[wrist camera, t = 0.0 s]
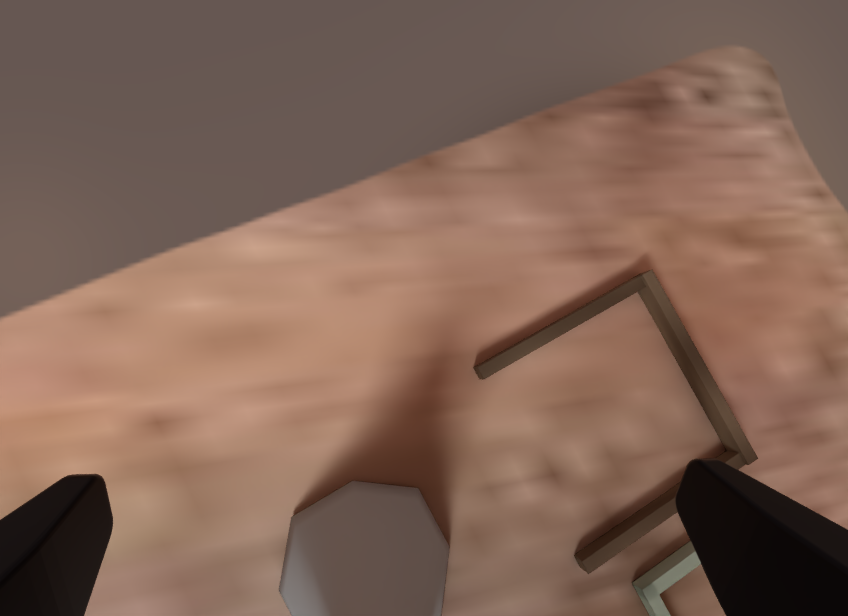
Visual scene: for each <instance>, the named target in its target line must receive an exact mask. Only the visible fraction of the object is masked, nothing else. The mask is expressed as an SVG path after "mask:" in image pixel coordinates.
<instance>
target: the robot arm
mask: <svg viewBox="0 0 848 616" xmlns="http://www.w3.org/2000/svg"><path fill="white" fill-rule="evenodd" d="M675 503H676V508H677V511H678V514H679V516H680V518H681V521H682V523H683V525H684V527H685V529H686V532H687V534H688V536H689V538H690V540H691V543H692V545H693V547H694V549H695V551H696V554H697V556H698V558H699V560H700V562H701V565H702V567H703V569H704V571H705V573H706V576H707V578H708V580H709V582H710V584H711V587H712V589H713V591H714V593H715V595H716V597H717V599H718V601H719V603H720V605H721V607H722V609H723V611H724V612H725V614H726V616H848V530H847V529H845V528H844V527H842V526H840V525H838V524H836V523H834V522H833V521H831V520H829V519H827V518H825V517H823V516H822V515H820V514H818V513H816V512H814V511H812V510H811V509H809V508H807V507H805V506H803V505H801V504H800V503H798V502H796V501H794V500H792V499H790V498H788V497H787V496H785V495H783V494H781V493H779V492H777V491H776V490H774V489H772V488H770V487H768V486H766V485H765V484H763V483H761V482H759V481H757V480H755V479H754V478H752V477H750V476H748V475H746V474H744V473H743V472H741V471H739V470H737V469H735V468H733V467H732V466H730V465H728V464H726V463H724V462H722V461H720V460H718V459H712V458H711V459H694V460H692V461H690V462H689V463H688V465H687V467H686V470H685V472H684V475H683V478H682V480H681V483H680V485H679V488H678V491H677V493H676V498H675ZM112 527H113V516H112V511H111V507H110V502H109V498H108V493H107V489H106V484H105V481H104V479H103V477H102V476H100V475H98V474H75V475H68V476H66V477H64V478H62V479H60V480H59V481H57V482H56V483H54V484H53V485H51V486H50V487H48V488H47V489H45V490H44V491H43V492H41V493H40V494H38V495H37V496H35V497H34V498H32V499H31V500H29V501H28V502H26V503H25V504H23V505H22V506H20V507H19V508H17V509H16V510H14V511H13V512H11V513H10V514H8V515H7V516H5V517H4V518H2V519H1V520H0V616H84V614H85V611H86V608H87V605H88V602H89V599H90V596H91V593H92V590H93V587H94V584H95V581H96V578H97V575H98V572H99V569H100V566H101V563H102V560H103V557H104V554H105V551H106V548H107V545H108V542H109V540H110V536H111V533H112Z"/></svg>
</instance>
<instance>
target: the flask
mask: <svg viewBox="0 0 848 616" xmlns="http://www.w3.org/2000/svg"><path fill="white" fill-rule="evenodd" d="M449 548H450V547H449V545H448V543H447V541H446V539H445V538H444V536H443V534H442V532H441V530H440V528H439V526H438V524H437V523H436V521H435V519H434V517H433V515H432V513H431V511H430V509H429V508H428V506H427V504H426V502H425V500H424V498H423V496H422V494H421V493H420V491H419V489H418V488H413V487H404V486H395V485H386V484H378V483H369V482H360V481H351V482H350V483H348V484H346V485H345V486H343V487H341V488H339V489H338V490H336V491H334V492H333V493H331V494H329V495H328V496H326V497H324V498H323V499H321V500H319V501H318V502H316V503H314V504H312V505H311V506H309V507H307V508H306V509H304V510H302V511H301V512H299V513H297V514H296V515H294V516H292V517H291V522H290V528H289V533H288V539H287V545H286V551H285V557H284V563H283V568H282V574H281V580H280V586H279V592H280V594H281V596H282V598H283V600H284V602H285V603H286V605H287V607H288V609H289V611H290V613H291V615H292V616H441V614H442V605H443V597H444V589H445V581H446V573H447V565H448V556H449Z"/></svg>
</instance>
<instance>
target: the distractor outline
mask: <svg viewBox="0 0 848 616" xmlns="http://www.w3.org/2000/svg"><path fill="white" fill-rule="evenodd" d="M700 564H701V562H700V560H699V558H698V556H697V554H696V551H695V549H694V547H693V545H692V543H691V541H690V542H688V543H687V544H685V545H684V546H683V547H681V548H680V549H678V550H677V551H676V552H674V553H673V554H671V555H670V556H669V557H667V558H666V559H665V560H663V561H662V562H660V563H659V564H658V565H656V566H655V567H653V568H652V569H651V570H649V571H648V572H646V573H645V574H644V575H642V576H641V577H640V578H638V579H637V580H635V581H634V582H633V583H632V584H633V586H634V588H635V589H636V591H637V593H638V595H639V597H640V599H641V600H642V602H643V604H644V606H645V608H646V610H647V612H648V613H649V615H650V616H671V615H670V613H669V612H668V610H667V608H666V606H665V604H664V602H663V601H662V599H661V597H660V595H659V594H661V593H662V592H664V591H665V590H666V589H668V588H669V587H670V586H672V585H673V584H674V583H676V582H677V581H678V580H680V579H681V578H683V577H684V576H685V575H687V574H688V573H689V572H691V571H692V570H693V569H695V568H696V567H697V566H699V565H700Z"/></svg>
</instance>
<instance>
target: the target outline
mask: <svg viewBox="0 0 848 616" xmlns="http://www.w3.org/2000/svg"><path fill="white" fill-rule="evenodd" d="M636 292H638V293H639V294H640V296H641V298H642V300H643V301H644V303H645V305H646V307H647V309H648V310H649V312H650V314H651V316H652V318H653V319H654V321H655V323H656V325H657V327H658V328H659V330H660V332H661V334H662V336H663V337H664V339H665V341H666V343H667V345H668V346H669V348H670V350H671V352H672V353H673V355H674V357H675V359H676V361H677V362H678V364H679V366H680V368H681V370H682V371H683V373H684V375H685V377H686V379H687V380H688V382H689V384H690V386H691V388H692V389H693V391H694V393H695V395H696V397H697V398H698V400H699V402H700V404H701V405H702V407H703V409H704V411H705V413H706V414H707V416H708V418H709V420H710V422H711V423H712V425H713V427H714V429H715V431H716V432H717V434H718V436H719V438H720V440H721V441H722V443H723V445H724V447H725V449H726V450H727V451H725V452H724V453H723V454H721V455H720V456H718V457H717V458H715V459H718V460H720V461H722V462H724V463H726V464H728V465H730V466H732V467H733V468H735V469H737V470H738V469H739V468H741V467H742V466H744V465H745V464H747V465H749V464H751V463H752V462H754V461H755V460H757V459H758V457H757V455H756V454H755V452H754V450H753V448H752V447H751V445H750V443H749V441H748V439H747V438H746V436H745V434H744V432H743V431H742V429H741V427H740V425H739V423H738V422H737V420H736V418H735V416H734V414H733V413H732V411H731V409H730V407H729V406H728V404H727V402H726V400H725V398H724V397H723V395H722V393H721V391H720V389H719V388H718V386H717V384H716V382H715V381H714V379H713V377H712V375H711V373H710V372H709V370H708V368H707V366H706V364H705V363H704V361H703V359H702V357H701V356H700V354H699V352H698V350H697V348H696V347H695V345H694V343H693V341H692V340H691V338H690V336H689V334H688V332H687V331H686V329H685V327H684V325H683V323H682V322H681V320H680V318H679V316H678V315H677V313H676V311H675V309H674V307H673V306H672V304H671V302H670V300H669V298H668V297H667V295H666V293H665V291H664V290H663V288H662V286H661V284H660V282H659V281H658V279H657V277H656V275H655V273H654V272H653V270H649V271H647V272H644V273H641V274H639V275H637V276H635V277H634V278H632V279H630V280H628V281H626V282H625V283H623V284H621V285H619V286H618V287H616V288H614V289H612V290H610V291H609V292H607V293H605V294H603V295H602V296H600V297H598V298H596V299H594V300H593V301H591V302H589V303H587V304H586V305H584V306H582V307H580V308H578V309H577V310H575V311H573V312H571V313H570V314H568V315H566V316H564V317H562V318H561V319H559V320H557V321H555V322H554V323H552V324H550V325H548V326H546V327H545V328H543V329H541V330H539V331H538V332H536V333H534V334H532V335H530V336H529V337H527V338H525V339H523V340H522V341H520V342H518V343H516V344H514V345H513V346H511V347H509V348H507V349H505V350H504V351H502V352H500V353H498V354H497V355H495V356H493V357H491V358H489V359H488V360H486V361H484V362H482V363H481V364H479V365H477V366H475V367H473V368H474V370H475V372H476V374H477V375H478V377H479V379H485V378H487V377H489V376H491V375H492V374H494V373H496V372H498V371H499V370H501V369H503V368H505V367H506V366H508V365H510V364H512V363H513V362H515V361H517V360H519V359H520V358H522V357H524V356H526V355H527V354H529V353H531V352H533V351H534V350H536V349H538V348H540V347H541V346H543V345H545V344H547V343H548V342H550V341H552V340H554V339H555V338H557V337H559V336H561V335H562V334H564V333H566V332H568V331H569V330H571V329H573V328H575V327H576V326H578V325H580V324H582V323H583V322H585V321H587V320H589V319H590V318H592V317H594V316H596V315H597V314H599V313H601V312H603V311H604V310H606V309H608V308H610V307H611V306H613V305H615V304H617V303H618V302H620V301H622V300H624V299H625V298H627V297H629V296H631V295H632V294H634V293H636ZM680 483H681V482H680ZM680 483H679V484H677V485H676V486H674V487H673V488H671V489H670V490H669V491H667V492H666V493H664V494H663V495H661V496H660V497H658V498H657V499H655V500H654V501H652V502H651V503H650V504H648V505H647V506H645V507H644V508H642V509H641V510H639V511H638V512H636V513H635V514H633V515H632V516H631V517H629V518H628V519H626V520H625V521H623V522H622V523H620V524H619V525H617V526H616V527H615V528H613V529H612V530H610V531H609V532H607V533H606V534H604V535H603V536H601V537H600V538H598V539H597V540H596V541H594V542H593V543H591V544H590V545H588V546H587V547H585V548H584V549H582V550H581V551H579V552H578V553H577V554H575V555H574V556H575V558H576V560H577V562H578V564H579V566H580V567H581V568H582V569H583V570H584V571H586V572H587V573H588V574H589V573H591V572H592V571H594V570H595V569H597V568H598V567H599V566H601V565H602V564H604V563H605V562H607V561H608V560H609V559H611V558H612V557H614V556H615V555H617V554H618V553H619V552H621V551H622V550H624V549H625V548H627V547H628V546H629V545H631V544H632V543H634V542H635V541H637V540H638V539H639V538H641V537H642V536H644V535H645V534H647V533H648V532H649V531H651V530H652V529H654V528H655V527H657V526H658V525H659V524H661V523H662V522H664V521H665V520H667V519H668V518H669V517H671V516H672V515H674V514H675V513H677V512H678V511H677V508H676V503H675V498H676V493H677V491H678V488H679V485H680Z"/></svg>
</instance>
